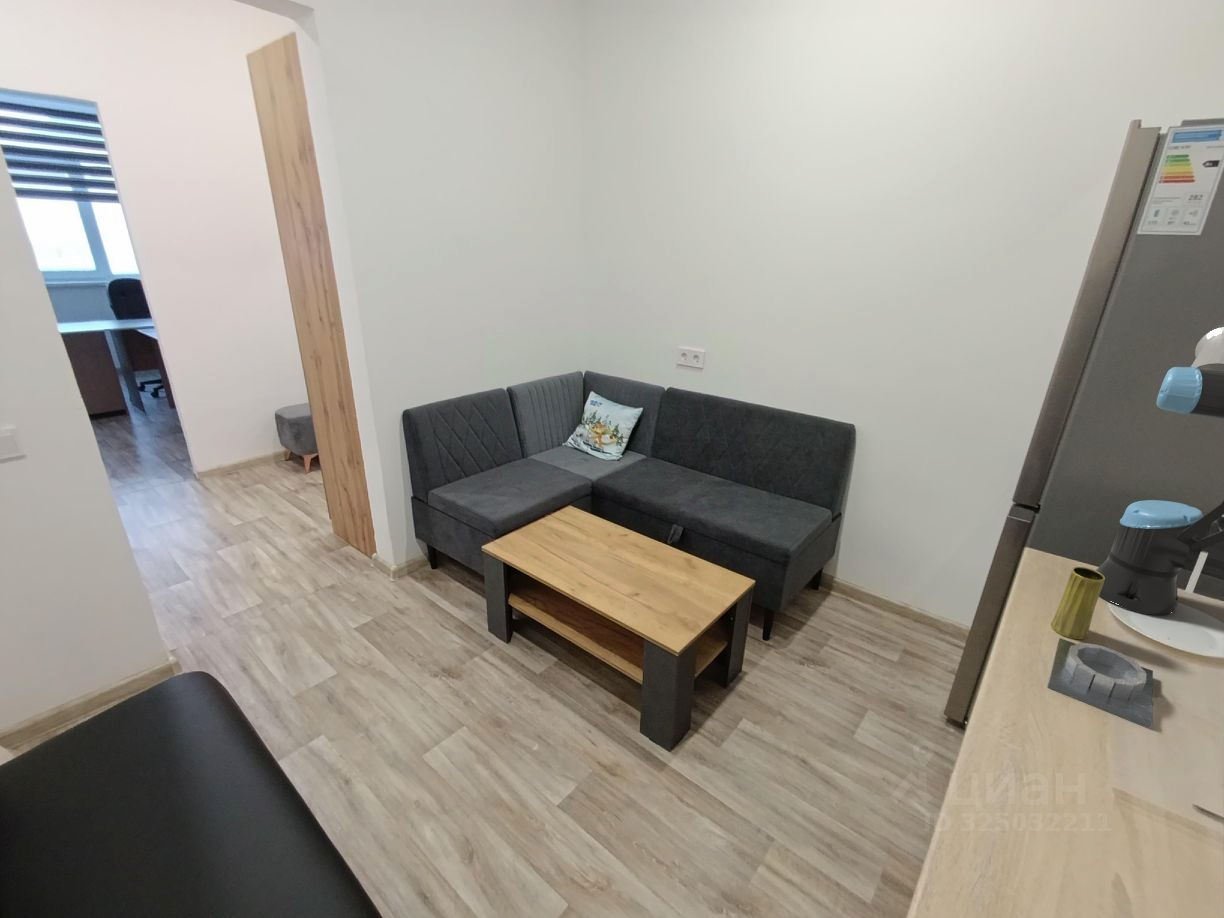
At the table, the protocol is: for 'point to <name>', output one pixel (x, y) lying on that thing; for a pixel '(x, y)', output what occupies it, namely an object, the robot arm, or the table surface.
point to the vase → (1078, 603)
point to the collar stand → (1103, 680)
